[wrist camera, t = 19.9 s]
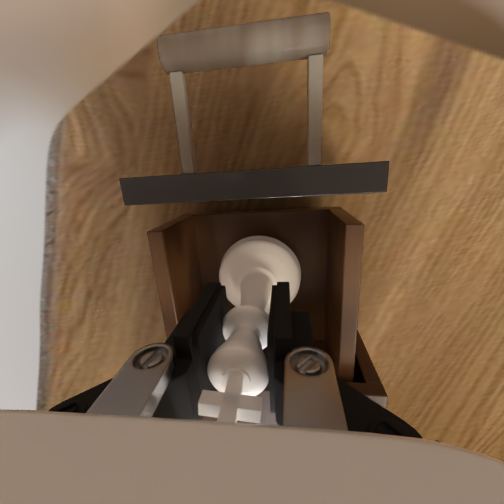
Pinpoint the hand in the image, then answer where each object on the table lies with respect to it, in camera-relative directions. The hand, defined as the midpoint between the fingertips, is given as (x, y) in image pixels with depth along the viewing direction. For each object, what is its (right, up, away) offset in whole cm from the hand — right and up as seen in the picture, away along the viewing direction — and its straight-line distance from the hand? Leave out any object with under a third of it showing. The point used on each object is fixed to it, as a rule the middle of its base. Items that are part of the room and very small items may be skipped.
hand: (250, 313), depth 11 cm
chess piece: (+1, +1, +5) cm, 5 cm away
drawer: (+1, +5, +6) cm, 8 cm away
